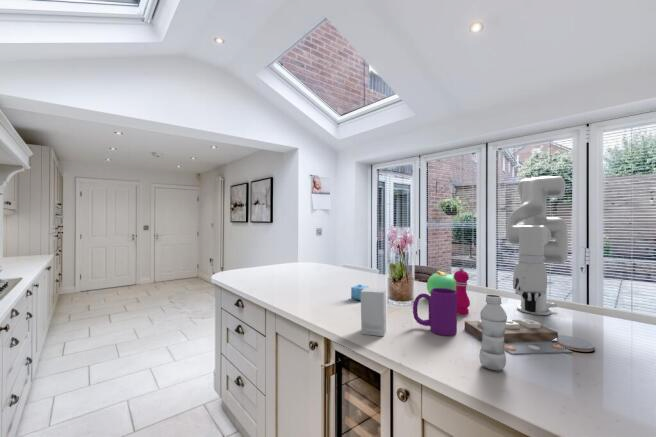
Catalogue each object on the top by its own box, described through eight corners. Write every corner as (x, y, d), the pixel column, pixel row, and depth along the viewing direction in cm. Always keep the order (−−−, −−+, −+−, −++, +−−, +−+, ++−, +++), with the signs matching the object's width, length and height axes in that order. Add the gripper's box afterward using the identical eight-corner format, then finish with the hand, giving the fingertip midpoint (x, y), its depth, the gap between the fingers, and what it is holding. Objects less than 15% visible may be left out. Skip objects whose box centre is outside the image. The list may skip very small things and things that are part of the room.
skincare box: (386, 331, 114) (387, 288, 113) (383, 337, 107) (384, 292, 107) (364, 328, 116) (364, 286, 116) (360, 334, 110) (360, 290, 110)
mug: (455, 338, 107) (456, 295, 107) (410, 330, 114) (410, 289, 114) (457, 329, 115) (458, 289, 115) (415, 323, 122) (415, 285, 122)
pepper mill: (466, 310, 140) (467, 266, 140) (472, 315, 132) (472, 268, 132) (449, 309, 140) (450, 265, 140) (454, 314, 133) (455, 268, 133)
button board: (529, 327, 118) (529, 319, 118) (557, 341, 106) (557, 332, 106) (464, 328, 116) (464, 320, 116) (484, 343, 103) (485, 334, 103)
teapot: (358, 303, 149) (359, 288, 149) (347, 301, 152) (347, 286, 152) (369, 298, 159) (369, 283, 159) (359, 296, 163) (359, 282, 162)
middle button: (510, 328, 113) (510, 319, 113) (519, 332, 109) (519, 323, 109) (499, 328, 113) (499, 319, 113) (507, 332, 108) (507, 323, 108)
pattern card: (554, 343, 103) (554, 341, 103) (572, 352, 96) (572, 350, 96) (497, 345, 102) (497, 343, 102) (511, 354, 95) (511, 352, 95)
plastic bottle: (474, 362, 89) (475, 293, 89) (496, 362, 90) (497, 293, 90) (487, 374, 83) (488, 299, 83) (511, 373, 83) (512, 298, 83)
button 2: (531, 327, 114) (531, 319, 114) (540, 332, 110) (540, 323, 110) (519, 327, 114) (520, 319, 114) (528, 332, 109) (528, 323, 109)
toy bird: (424, 295, 167) (424, 267, 167) (456, 296, 164) (457, 268, 164) (430, 304, 149) (430, 273, 149) (467, 306, 146) (467, 275, 146)
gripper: (542, 259, 116) (541, 308, 115) (504, 258, 114) (503, 308, 114) (558, 261, 108) (558, 314, 108) (518, 260, 107) (517, 314, 107)
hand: (530, 311), depth 111 cm, fingers closed
